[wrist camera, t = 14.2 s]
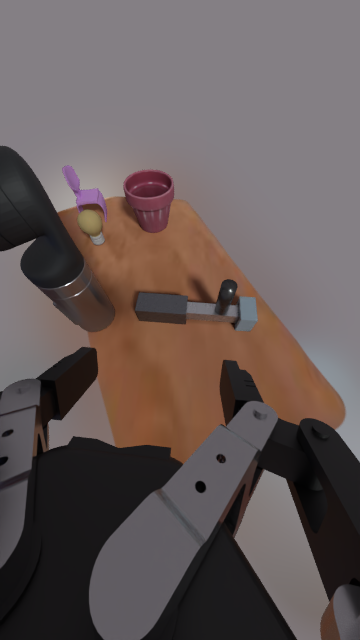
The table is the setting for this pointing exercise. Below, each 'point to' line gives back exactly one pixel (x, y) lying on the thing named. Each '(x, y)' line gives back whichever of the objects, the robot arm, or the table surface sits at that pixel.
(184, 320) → the sleeve
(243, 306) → the socket
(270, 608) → the robot arm
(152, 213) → the plant pot
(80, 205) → the toy chair
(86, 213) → the light bulb
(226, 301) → the block with knob
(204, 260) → the table surface
